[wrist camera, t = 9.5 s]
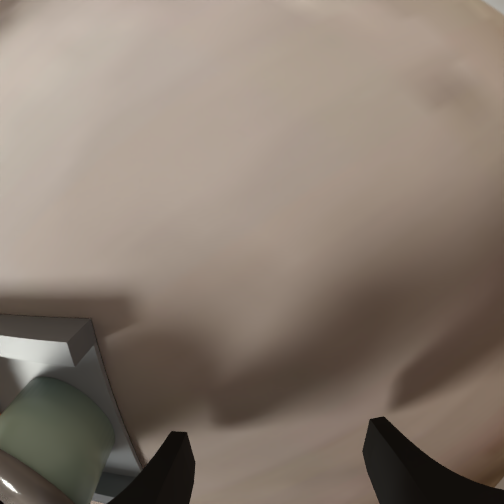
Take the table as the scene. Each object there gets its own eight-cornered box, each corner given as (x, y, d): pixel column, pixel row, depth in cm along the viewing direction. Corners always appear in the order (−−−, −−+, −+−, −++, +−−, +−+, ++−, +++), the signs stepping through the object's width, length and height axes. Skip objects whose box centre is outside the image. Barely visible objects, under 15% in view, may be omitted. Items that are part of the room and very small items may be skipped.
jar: (103, 385, 12) (49, 481, 6) (128, 465, 13) (101, 548, 8) (9, 364, 11) (-54, 429, 6) (42, 443, 13) (3, 508, 7)
